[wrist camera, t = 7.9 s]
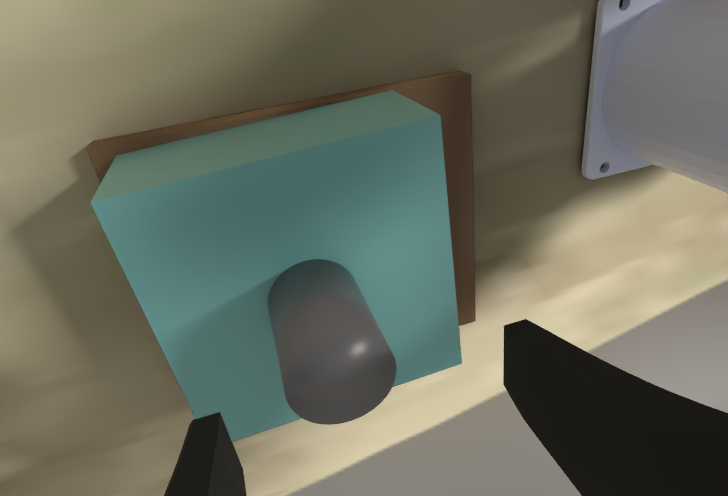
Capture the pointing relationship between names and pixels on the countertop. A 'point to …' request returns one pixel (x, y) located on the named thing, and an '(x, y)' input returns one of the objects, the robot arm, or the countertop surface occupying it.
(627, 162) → the robot arm
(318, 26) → the countertop surface
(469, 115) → the walnut board
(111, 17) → the countertop surface
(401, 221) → the cover
